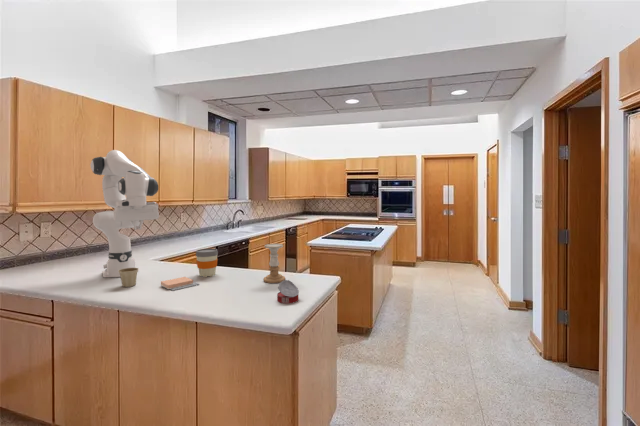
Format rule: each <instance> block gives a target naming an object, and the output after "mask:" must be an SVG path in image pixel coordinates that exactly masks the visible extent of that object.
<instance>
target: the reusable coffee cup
mask: <svg viewBox="0 0 640 426" xmlns="http://www.w3.org/2000/svg"><path fill="white" fill-rule="evenodd" d="M218 255H219V252H218V249H217V248H201V249H197V250H196V251H195V257H196V266H197V269H198V274H199V276H200V277H201V276H203V277H202V278H208V277H207V276H210V277H213V275H214V276H215V275H216V273H217V271H216V270H217V267H218Z"/></svg>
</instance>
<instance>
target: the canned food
mask: <svg viewBox="0 0 640 426" xmlns="http://www.w3.org/2000/svg"><path fill="white" fill-rule="evenodd" d="M277 288H278V291H279V292H278V293H277V294H276V297H277V298H276V299H277V300H276V301H277V302H278V303H281V304H293V302H294V303H297V302H298V301H299V292H300V291H299V289H298V287H297V286H296V284H295V283H293V282H292V281H291V280H290V279H285V280H284V281H282V282H280V283H278V287H277ZM296 301H297V302H296Z"/></svg>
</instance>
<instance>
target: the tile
mask: <svg viewBox="0 0 640 426" xmlns="http://www.w3.org/2000/svg"><path fill="white" fill-rule="evenodd" d="M193 282H194V280H193V279H191V278H189V277H186V276H183V277H182V276H181V277H175V278H172V279H167V280H162V281H161V280H160V286H161V287H163V288H166V289H167V290H170V289H172V288H176V287H181V286H185V285H189V284H193Z"/></svg>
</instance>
